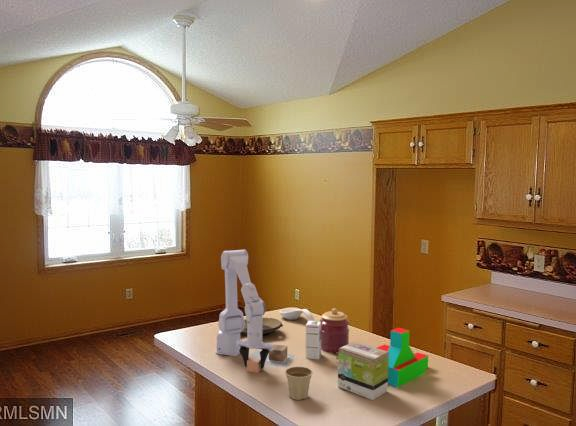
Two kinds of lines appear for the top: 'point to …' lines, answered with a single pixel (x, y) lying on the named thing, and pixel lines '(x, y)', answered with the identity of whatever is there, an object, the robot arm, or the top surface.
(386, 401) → the top surface
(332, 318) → the canister
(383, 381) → the tea box
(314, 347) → the syrup box
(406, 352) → the building blocks toy
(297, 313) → the spoon rest
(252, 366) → the terracotta block
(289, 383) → the flower pot
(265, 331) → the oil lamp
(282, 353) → the walnut block
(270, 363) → the mat
